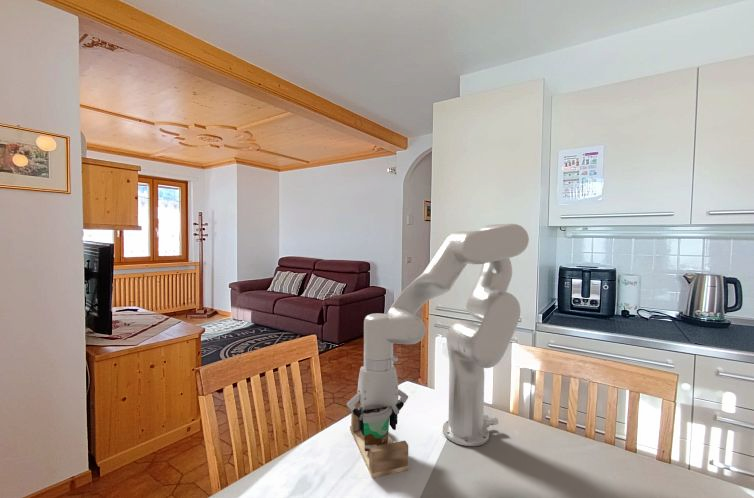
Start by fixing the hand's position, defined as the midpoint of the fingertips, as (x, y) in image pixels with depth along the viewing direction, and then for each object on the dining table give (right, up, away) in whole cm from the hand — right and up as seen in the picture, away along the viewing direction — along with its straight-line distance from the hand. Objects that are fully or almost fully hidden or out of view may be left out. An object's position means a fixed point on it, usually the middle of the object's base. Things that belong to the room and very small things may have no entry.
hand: (378, 429), depth 90 cm
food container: (+1, -3, 0) cm, 4 cm away
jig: (0, -5, +1) cm, 5 cm away
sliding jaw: (-3, -4, +8) cm, 10 cm away
